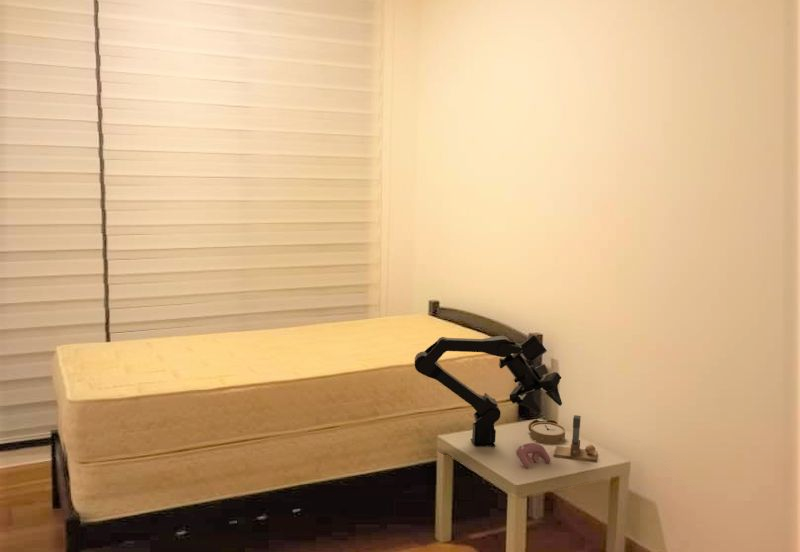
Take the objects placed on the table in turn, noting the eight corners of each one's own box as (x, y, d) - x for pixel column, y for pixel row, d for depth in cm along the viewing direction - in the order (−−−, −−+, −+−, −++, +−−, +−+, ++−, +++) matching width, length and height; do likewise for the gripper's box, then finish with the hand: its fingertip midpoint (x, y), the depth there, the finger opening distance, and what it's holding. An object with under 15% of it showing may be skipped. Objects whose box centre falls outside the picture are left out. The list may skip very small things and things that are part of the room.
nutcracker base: (553, 456, 227) (554, 443, 226) (556, 448, 234) (556, 436, 234) (596, 462, 223) (597, 449, 223) (597, 453, 231) (597, 440, 230)
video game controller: (542, 465, 224) (536, 441, 226) (553, 462, 220) (546, 439, 222) (518, 470, 219) (512, 446, 221) (528, 468, 215) (521, 444, 217)
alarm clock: (535, 435, 238) (524, 413, 252) (534, 449, 239) (523, 426, 253) (570, 435, 239) (556, 413, 253) (568, 449, 240) (555, 426, 254)
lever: (571, 451, 227) (573, 418, 226) (572, 448, 231) (574, 415, 229) (578, 452, 227) (580, 418, 226) (578, 448, 230) (580, 415, 229)
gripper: (552, 346, 233) (582, 385, 234) (511, 364, 246) (539, 400, 248) (538, 367, 225) (568, 407, 227) (496, 384, 239) (525, 421, 240)
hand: (550, 408), depth 235 cm, fingers open, 9 cm apart
